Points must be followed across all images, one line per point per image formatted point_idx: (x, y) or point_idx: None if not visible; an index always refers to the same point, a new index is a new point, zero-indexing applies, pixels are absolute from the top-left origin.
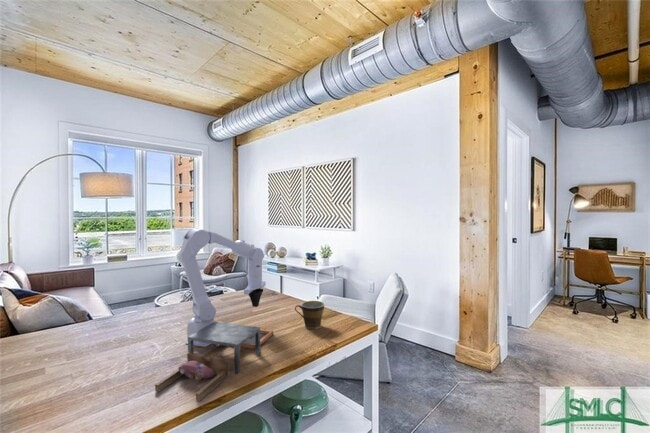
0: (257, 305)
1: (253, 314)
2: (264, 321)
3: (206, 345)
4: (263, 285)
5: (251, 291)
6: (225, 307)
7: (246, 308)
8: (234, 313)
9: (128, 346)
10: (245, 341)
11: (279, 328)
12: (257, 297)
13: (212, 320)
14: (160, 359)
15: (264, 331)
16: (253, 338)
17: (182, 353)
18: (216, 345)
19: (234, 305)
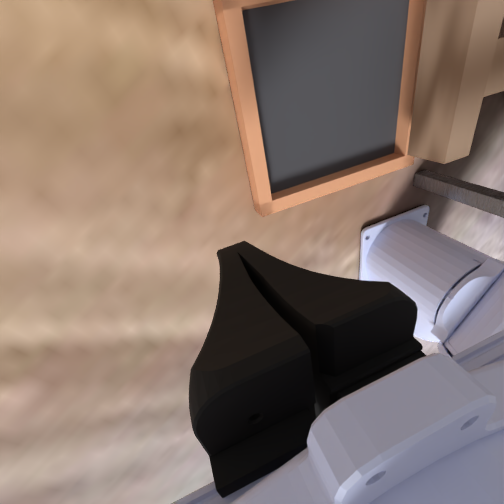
0: (242, 245)
1: (66, 354)
2: (87, 229)
3: (426, 208)
4: (364, 484)
5: (462, 360)
6: (117, 469)
7: (40, 434)
8: (135, 404)
9: (434, 344)
10: (362, 96)
11: (89, 22)
12: (315, 275)
13: (476, 264)
14: (487, 238)
15: (249, 63)
16: (323, 81)
17: (460, 226)
18: (430, 173)
19: (67, 479)
